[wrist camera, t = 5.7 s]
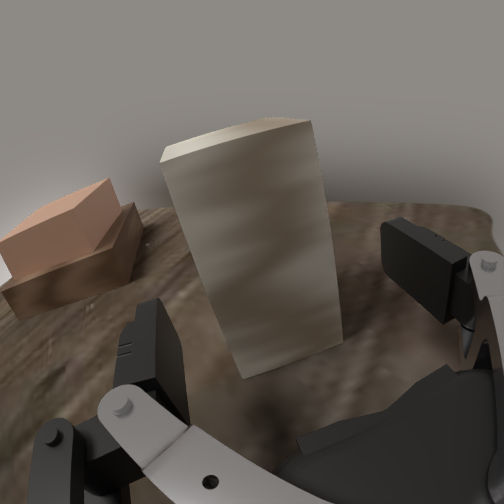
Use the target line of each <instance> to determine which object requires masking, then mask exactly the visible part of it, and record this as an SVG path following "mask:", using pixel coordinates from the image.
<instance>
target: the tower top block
mask: <svg viewBox="0 0 504 504" xmlns="http://www.w3.org/2000/svg"><path fill="white" fill-rule="evenodd" d="M121 212H122V209H121V207H120V204H119V202H118V199H117V197H116V194H115V191H114V189H113V186H112V183H111V181H110V178H107V179H105V180H102V181H100V182H97V183H95V184H92V185H90V186H88V187H85V188H83V189H80V190H78V191H76V192H74V193H71V194H69V195H67V196H65V197H62V198H60V199H58V200H56V201H54V202H51V203H49V204H47V205H45V206H43V207H41V208H39V209H38V210H37V211H35V212H34V213H33V214H31V215H30V216H29V217H28V218H26V219H25V220H24V221H23V222H21V223H20V224H19V225H18V226H17V227H15V228H14V229H13V230H12V231H11V232H9V233H8V234H7V235H6V236H5V237H4V238H2V239H1V240H0V254H1V255H2V257H3V259H4V262H5V263H6V265H7V267H8V269H9V271H10V273H11V275H12V277H13V278H14V280H17V279H20V278H22V277H25V276H28V275H30V274H33V273H36V272H38V271H41V270H44V269H46V268H49V267H52V266H55V265H57V264H60V263H63V262H66V261H69V260H72V259H74V258H77V257H80V256H83V255H86V254H89V253H92V252H94V250H95V249H96V247H97V246H98V244H99V243H100V241H101V240H102V239H103V237H104V236H105V234H106V233H107V231H108V230H109V229H110V227H111V226H112V224H113V223H114V222H115V220H116V219H117V217H118V216H119V215H120V213H121Z"/></svg>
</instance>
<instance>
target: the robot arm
mask: <svg viewBox="0 0 504 504" xmlns="http://www.w3.org/2000/svg"><path fill="white" fill-rule="evenodd" d="M380 234H381V257H382V265H383V268H384V271H385V273H386V274H387V275H388V276H389V277H390V278H391V279H392V280H393V281H394V282H396V283H397V284H398V285H399V286H400V287H401V288H403V289H404V290H405V291H406V292H407V293H408V294H409V295H411V296H412V297H413V298H414V299H415V300H416V301H417V302H418V303H420V304H421V305H422V306H423V307H424V308H425V309H426V310H427V311H429V312H430V313H431V314H432V315H433V316H434V317H435V318H436V319H437V320H438V321H440V322H441V323H442V324H443V325H444V324H445V323H447V322H449V321H450V320H452V319H454V318H456V319H457V320H458V321H459V322H458V338H459V350H460V364H461V371H458V372H454V371H453V370H452V369H451V368H450V367H449V366H448V365H447V364H446V365H444V366H443V367H441V368H439V369H438V370H436V371H435V372H433V373H431V374H430V375H428V376H426V377H425V378H423V379H421V380H419V381H418V382H416V383H415V384H414V385H413V386H412V387H411V388H410V389H409V390H408V391H406V392H405V393H404V394H403V395H402V396H401V397H400V398H399V399H398V400H397V401H395V402H394V403H393V404H392V405H391V406H390V407H389V408H387V409H386V410H384V411H381V412H377V413H373V414H369V415H365V416H361V417H356V418H352V419H347V420H342V421H338V422H336V423H333V424H331V425H328V426H326V427H324V428H321V429H319V430H316V431H314V432H311V433H308V434H306V435H303V436H300V437H298V438H296V440H297V443H298V446H299V450H297V451H295V452H294V453H292V454H291V455H290V456H288V457H287V458H286V459H285V460H283V461H282V462H281V463H280V464H279V465H278V466H277V467H276V468H275V469H274V470H273V472H272V473H269V472H268V471H266V470H264V469H262V468H261V467H259V466H257V465H255V464H254V463H252V462H250V461H249V460H247V459H245V458H244V457H242V456H241V455H239V454H237V453H236V452H234V451H233V450H231V449H230V448H228V447H226V446H225V445H223V444H222V443H220V442H219V441H217V440H216V439H214V438H213V437H211V436H210V435H208V434H207V433H206V432H204V431H203V430H201V429H200V428H198V427H197V426H195V425H193V424H190V417H189V409H188V401H187V392H186V384H185V374H184V364H183V354H182V347H181V343H180V340H179V337H178V335H177V332H176V330H175V328H174V326H173V324H172V322H171V320H170V318H169V316H168V314H167V312H166V310H165V308H164V305H163V303H162V301H161V300H160V299H159V298H156V299H153V300H149V301H146V302H143V303H140V304H138V305H137V308H136V316H135V321H133V322H129V323H127V325H126V326H125V328H124V329H123V331H122V333H121V334H120V340H119V348H118V353H117V356H118V357H117V360H116V367H115V374H114V382H113V389H112V390H111V391H109V392H108V393H107V394H106V395H105V396H104V397H103V398H102V400H101V402H100V404H99V406H98V415H96V416H95V417H93V418H91V419H89V420H87V421H85V422H83V423H81V424H79V425H77V426H75V427H74V426H73V425H72V424H71V423H70V422H69V421H68V420H66V419H64V418H55V419H52V420H50V421H48V422H46V423H45V424H44V425H43V426H42V427H41V428H40V429H39V431H38V433H37V435H36V437H35V441H34V447H33V454H32V461H31V469H30V477H29V487H28V498H27V504H131V498H130V489H129V484H130V483H132V482H134V481H136V480H139V479H141V478H143V477H145V476H147V477H148V478H149V479H150V480H151V481H152V482H153V483H154V484H155V485H156V486H157V487H158V488H159V489H160V490H161V491H162V492H163V493H164V494H165V495H167V496H168V497H169V498H170V499H171V500H172V501H173V502H174V503H175V504H504V257H503V256H501V255H499V254H497V253H495V252H491V251H479V252H476V253H474V254H472V255H471V254H470V253H468V252H466V251H465V250H463V249H462V248H460V247H458V246H457V245H455V244H453V243H452V242H450V241H448V240H445V238H443V237H441V236H440V235H439V236H438V235H437V234H436V233H434V232H433V231H431V230H429V229H427V228H423V227H420V226H417V225H415V224H413V223H411V222H409V221H408V220H406V219H404V218H402V217H398V218H395V219H392V220H389V221H386V222H383V223H382V224H381V228H380Z"/></svg>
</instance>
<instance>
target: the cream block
mask: <svg viewBox="0 0 504 504" xmlns="http://www.w3.org/2000/svg"><path fill="white" fill-rule="evenodd" d="M160 166H161V169H162V172H163V175H164V178H165V181H166V183H167V187H168V190H169V192H170V195H171V198H172V201H173V204H174V207H175V210H176V212H177V215H178V218H179V221H180V224H181V226H182V229H183V232H184V235H185V237H186V240H187V243H188V246H189V248H190V251H191V254H192V256H193V259H194V262H195V264H196V267H197V269H198V272H199V275H200V277H201V280H202V282H203V285H204V287H205V290H206V293H207V295H208V298H209V300H210V303H211V305H212V308H213V310H214V313H215V315H216V317H217V320H218V322H219V325H220V327H221V330H222V332H223V334H224V337H225V339H226V342H227V344H228V346H229V349H230V351H231V353H232V356H233V358H234V360H235V363H236V365H237V367H238V370H239V372H240V374H241V376H242V379H246V378H249V377H252V376H255V375H258V374H261V373H264V372H267V371H270V370H273V369H276V368H278V367H281V366H284V365H287V364H290V363H292V362H295V361H298V360H300V359H303V358H306V357H308V356H311V355H313V354H316V353H318V352H321V351H323V350H326V349H328V348H331V347H333V346H336V345H338V344H340V343H343V333H342V321H341V311H340V301H339V292H338V283H337V274H336V266H335V258H334V251H333V243H332V236H331V229H330V223H329V216H328V210H327V204H326V198H325V192H324V186H323V180H322V175H321V169H320V164H319V158H318V153H317V148H316V143H315V139H314V133H313V129H312V124H311V120H303V119H292V118H279V117H266V118H263V119H258V120H254V121H251V122H247V123H243V124H239V125H235V126H232V127H228V128H224V129H221V130H218V131H214V132H211V133H207V134H204V135H201V136H197V137H194V138H191V139H188V140H185V141H182V142H179V143H176V144H173V145H170V146H167V147H166V148H165V150H164V153H163V155H162V158H161V161H160Z"/></svg>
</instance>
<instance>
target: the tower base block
mask: <svg viewBox="0 0 504 504" xmlns="http://www.w3.org/2000/svg"><path fill="white" fill-rule="evenodd" d="M121 209H122V212H121V213H120V215H119V216H118V217H117V219H116V220H115V222H114V223H113V224H112V226H111V227H110V229H109V230H108V231H107V233H106V234H105V236H104V237H103V239H102V240H101V241H100V243H99V244H98V246H97V247H96V249H95V250H94V252H92V253H89V254H86V255H83V256H80V257H77V258H74V259H72V260H69V261H66V262H63V263H60V264H57V265H55V266H52V267H49V268H46V269H44V270H41V271H38V272H36V273H33V274H30V275H28V276H25V277H22V278H20V279H17V280H14V278H13V277H12V278H11V280H10V281H9V282H8V283H7V285H6V286H5V287H4V289H3V290H2V291H1V292H2V294H3V295H4V297H5V299H6V300H7V302H8V304H9V305H10V307H11V309H12V310H13V312H14V313H15V315H16V316H17V318H18V319H19V320H22V319H25V318H28V317H31V316H34V315H37V314H40V313H43V312H46V311H49V310H52V309H55V308H58V307H61V306H64V305H67V304H70V303H73V302H76V301H79V300H82V299H85V298H88V297H91V296H94V295H97V294H100V293H103V292H106V291H109V290H112V289H115V288H118V287H121V286H124V285H127V284H129V282H130V278H131V274H132V270H133V266H134V263H135V259H136V255H137V251H138V248H139V244H140V241H141V237H142V234H143V230H144V227H143V224H142V222H141V219H140V217H139V214H138V211H137V209H136V206H135V204H134V202H133V203H130V204H127V205H125V206H122V207H121Z"/></svg>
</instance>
